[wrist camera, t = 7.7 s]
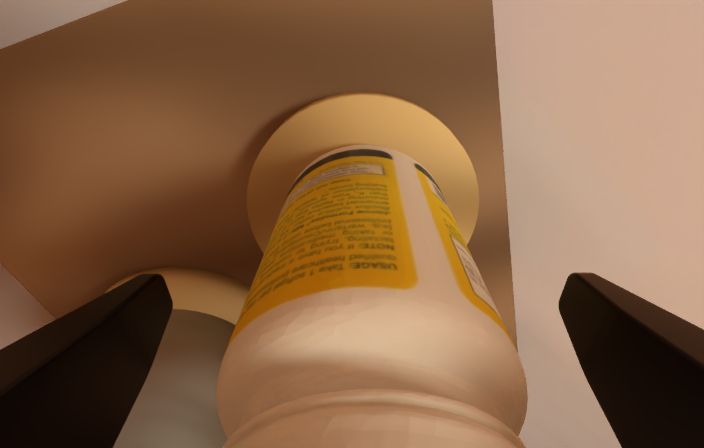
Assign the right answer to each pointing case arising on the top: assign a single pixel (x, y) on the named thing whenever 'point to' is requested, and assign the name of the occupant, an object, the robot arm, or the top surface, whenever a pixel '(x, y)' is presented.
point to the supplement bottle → (369, 322)
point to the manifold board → (229, 156)
